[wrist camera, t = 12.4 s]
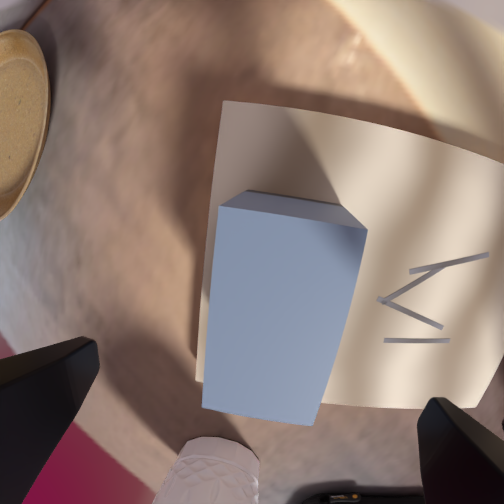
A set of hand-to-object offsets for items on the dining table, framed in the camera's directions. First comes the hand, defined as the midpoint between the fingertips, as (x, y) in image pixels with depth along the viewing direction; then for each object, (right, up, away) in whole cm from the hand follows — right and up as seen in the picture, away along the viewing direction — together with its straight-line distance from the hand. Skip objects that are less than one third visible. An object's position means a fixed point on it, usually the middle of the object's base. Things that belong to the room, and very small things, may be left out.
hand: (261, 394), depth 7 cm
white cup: (-3, -14, +16) cm, 21 cm away
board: (+7, +2, +10) cm, 12 cm away
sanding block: (+1, +2, +9) cm, 9 cm away
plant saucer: (-19, +13, +11) cm, 26 cm away
